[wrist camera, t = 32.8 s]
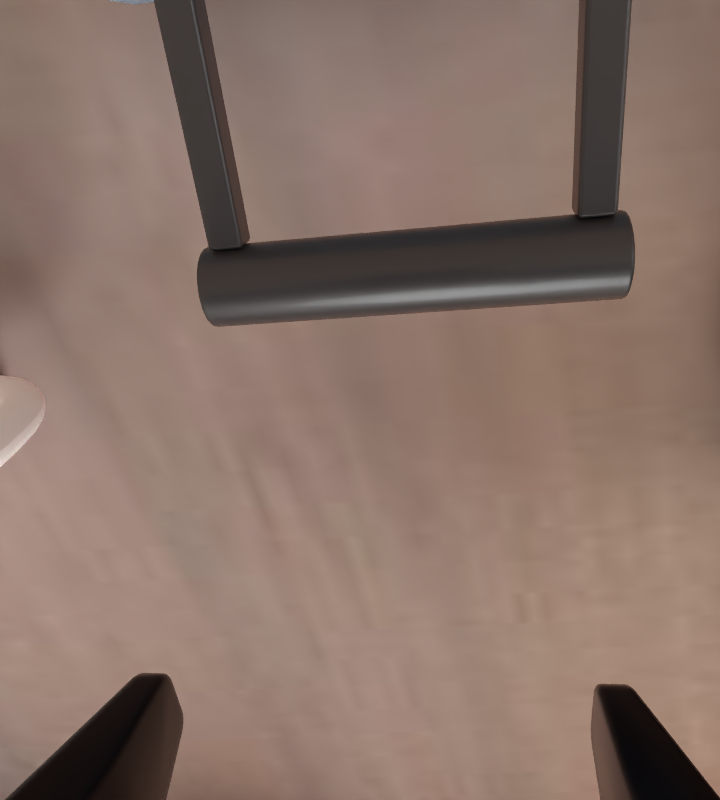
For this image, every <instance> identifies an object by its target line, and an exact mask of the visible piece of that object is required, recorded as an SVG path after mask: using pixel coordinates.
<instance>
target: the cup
mask: <svg viewBox="0 0 720 800" xmlns="http://www.w3.org/2000/svg"><path fill="white" fill-rule="evenodd" d="M45 408H46V404H45V399H44V395H43V393H42V392H41V391H40V390H39V388H38V387H37V386H36V385H34V384H33V383H31V382H29V381H27V380H25V379H23V378H19V377H11V376H1V375H0V467H1V466H2V465H3V464H4V463H5V462H6V461H7V460H9V459H10V458H11V457H12V456H13V455H14V454H15V453H16V452H17V451H18V450H19V449H20V448H21V447H22V446H23V445H24V444H25V443H26V442H27V441H28V439H29V438H30V437H31V436H32V435H33V434H34V432H35V431H36V430H37V429H38V427H39V425H40V424H41V422H42V420H43V417H44V413H45Z"/></svg>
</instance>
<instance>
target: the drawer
mask: <svg viewBox="0 0 720 800" xmlns="http://www.w3.org/2000/svg"><path fill="white" fill-rule="evenodd" d="M110 1H116V2H122V3H128V4H135V5H136V4H143V3H149V2H154V3H155V7H156V12H157V16H158V21H159V25H160V30H161V34H162V39H163V43H164V48H165V52H166V57H167V61H168V66H169V70H170V75H171V79H172V84H173V88H174V93H175V97H176V102H177V106H178V111H179V115H180V120H181V124H182V129H183V133H184V138H185V142H186V147H187V151H188V156H189V160H190V165H191V169H192V174H193V178H194V183H195V187H196V192H197V196H198V201H199V205H200V210H201V214H202V219H203V223H204V228H205V232H206V237H207V241H208V246H209V247H207V248H206V249H204V250H203V251H202V253H201V255H200V257H199V261H198V268H197V285H198V292H199V298H200V302H201V306H202V309H203V311H204V314H205V316H206V318H207V319H208V321H209V322H210V323H211V324H212V325H214V326H218V327H220V326H234V325H249V324H263V323H278V322H292V321H307V320H321V319H336V318H350V317H365V316H380V315H394V314H409V313H423V312H438V311H452V310H467V309H481V308H496V307H511V306H525V305H540V304H554V303H569V302H583V301H598V300H612V299H622V298H624V297H626V296H627V294H628V293H629V290H630V287H631V284H632V280H633V274H634V264H635V243H634V233H633V228H632V224H631V221H630V218H629V216H628V214H627V213H626V212H625V211H622V210H619V211H618V199H619V184H620V169H621V154H622V139H623V124H624V109H625V94H626V79H627V64H628V49H629V35H630V20H631V5H632V0H579V26H578V54H577V83H576V111H575V139H574V168H573V196H572V209H573V211H574V212H575V214H574V215H563V216H552V217H540V218H529V219H518V220H507V221H495V222H484V223H473V224H461V225H450V226H439V227H428V228H416V229H405V230H394V231H382V232H371V233H360V234H349V235H337V236H326V237H315V238H303V239H292V240H281V241H270V242H258V243H247V242H248V241H249V238H250V235H249V230H248V225H247V220H246V215H245V209H244V204H243V199H242V194H241V188H240V183H239V178H238V173H237V168H236V162H235V157H234V152H233V147H232V142H231V136H230V131H229V126H228V121H227V115H226V110H225V105H224V100H223V95H222V89H221V84H220V79H219V74H218V69H217V63H216V58H215V53H214V48H213V43H212V37H211V32H210V27H209V22H208V16H207V11H206V6H205V1H204V0H110ZM246 243H247V244H246Z"/></svg>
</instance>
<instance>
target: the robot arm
mask: <svg viewBox="0 0 720 800" xmlns="http://www.w3.org/2000/svg"><path fill="white" fill-rule="evenodd" d="M182 729H183V713H182V709H181V706H180V703H179V701H178V698H177V695H176V692H175V689H174V686H173V683H172V681H171V679H170V677H169V676H168V675H167V674H163V673H142V674H139V675H137V676H135V677H134V678H133V679H131V680H130V681H129V682H128V683H127V684H126V685H125V686H124V687H123V688H122V689H121V690H120V691H119V692H118V693H117V694H116V695H115V696H114V697H112V698H111V699H110V700H109V701H108V702H107V703H106V704H105V705H104V706H103V707H102V708H101V709H100V710H99V711H98V712H97V713H96V714H95V715H94V716H93V717H91V718H90V719H89V720H88V721H87V722H86V723H85V724H84V725H83V726H82V727H81V728H80V729H79V730H78V731H77V732H76V733H75V734H74V735H73V736H72V737H70V738H69V739H68V740H67V741H66V742H65V743H64V744H63V745H62V746H61V747H60V748H59V749H58V750H57V751H56V752H55V753H54V754H53V755H52V756H51V757H49V758H48V759H47V760H46V761H45V762H44V763H43V764H42V765H41V766H40V767H39V768H38V769H37V770H36V771H35V772H34V773H33V774H32V775H31V776H30V777H28V778H27V779H26V780H25V781H24V782H23V783H22V784H21V785H20V786H19V787H18V788H17V789H16V790H15V791H14V792H13V793H12V794H11V795H10V796H9V797H8V798H6V799H5V800H166V798H167V794H168V789H169V785H170V781H171V777H172V772H173V768H174V764H175V760H176V755H177V751H178V747H179V742H180V738H181V734H182ZM591 740H592V748H593V755H594V761H595V768H596V774H597V781H598V787H599V794H600V800H720V798H719V796H718V795H717V794H716V792H715V791H714V790H713V789H712V787H711V786H710V785H709V784H708V782H707V781H706V780H705V779H704V777H703V776H702V775H701V773H700V772H699V771H698V770H697V768H696V767H695V766H694V765H693V763H692V762H691V761H690V760H689V758H688V757H687V756H686V755H685V753H684V752H683V751H682V749H681V748H680V747H679V746H678V744H677V743H676V742H675V741H674V739H673V738H672V737H671V736H670V734H669V733H668V732H667V731H666V729H665V728H664V727H663V725H662V724H661V723H660V722H659V720H658V719H657V718H656V717H655V715H654V714H653V713H652V712H651V710H650V709H649V708H648V707H647V705H646V704H645V703H644V701H643V700H642V699H641V698H640V696H639V695H638V694H637V693H636V691H635V690H634V689H633V688H632V687H630V686H628V685H625V684H598V685H597V686H596V688H595V690H594V697H593V708H592V719H591Z"/></svg>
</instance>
